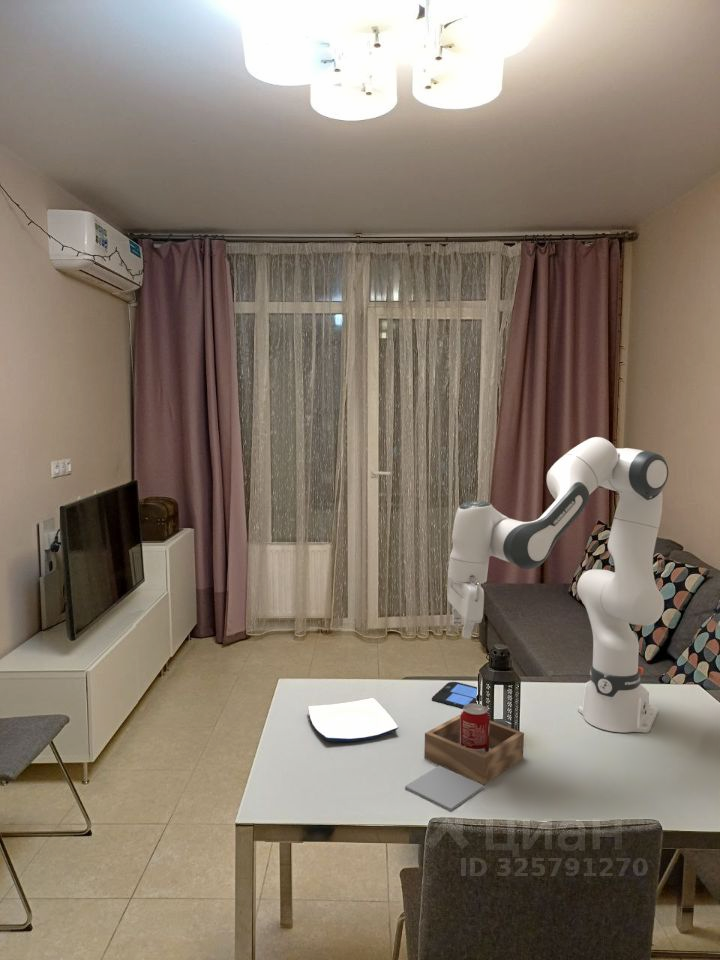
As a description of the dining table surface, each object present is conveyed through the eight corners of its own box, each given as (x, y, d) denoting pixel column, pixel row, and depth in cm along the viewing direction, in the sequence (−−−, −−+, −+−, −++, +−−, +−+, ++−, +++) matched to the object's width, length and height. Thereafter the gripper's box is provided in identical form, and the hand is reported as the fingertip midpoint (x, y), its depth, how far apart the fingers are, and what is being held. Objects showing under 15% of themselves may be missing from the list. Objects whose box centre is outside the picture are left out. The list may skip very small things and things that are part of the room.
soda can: (488, 766, 156) (489, 716, 155) (458, 763, 157) (459, 713, 156) (488, 752, 163) (490, 703, 161) (460, 749, 164) (461, 701, 163)
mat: (438, 768, 155) (439, 765, 155) (483, 788, 147) (484, 785, 147) (405, 788, 146) (405, 786, 146) (450, 811, 138) (450, 808, 138)
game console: (430, 702, 192) (430, 694, 191) (450, 687, 202) (450, 680, 202) (478, 715, 184) (478, 707, 184) (496, 698, 195) (496, 691, 194)
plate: (375, 705, 189) (375, 696, 189) (403, 738, 170) (403, 728, 169) (303, 715, 182) (303, 705, 182) (323, 750, 163) (323, 740, 163)
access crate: (464, 734, 171) (465, 711, 171) (523, 757, 160) (524, 733, 160) (424, 757, 160) (424, 733, 159) (484, 784, 148) (485, 758, 148)
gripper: (493, 582, 146) (486, 646, 147) (470, 564, 166) (464, 620, 167) (465, 580, 145) (457, 644, 146) (445, 562, 166) (438, 618, 166)
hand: (461, 631), depth 157 cm, fingers open, 8 cm apart
